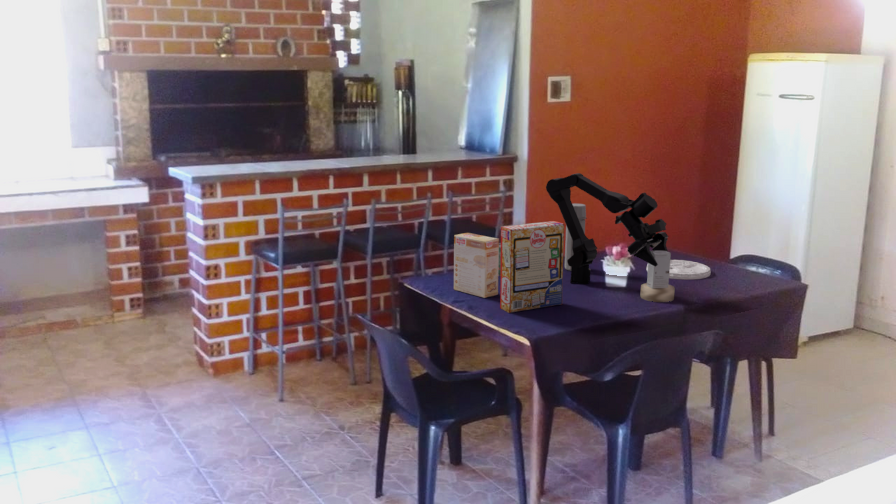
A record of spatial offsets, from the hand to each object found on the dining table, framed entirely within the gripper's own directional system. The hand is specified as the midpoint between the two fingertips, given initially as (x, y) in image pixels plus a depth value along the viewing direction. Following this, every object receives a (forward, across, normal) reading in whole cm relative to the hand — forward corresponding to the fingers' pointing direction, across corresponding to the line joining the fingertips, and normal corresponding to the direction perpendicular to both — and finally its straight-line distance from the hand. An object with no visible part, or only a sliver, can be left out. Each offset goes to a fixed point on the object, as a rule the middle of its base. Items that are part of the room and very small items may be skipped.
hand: (663, 263), depth 268 cm
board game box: (-10, -38, +27) cm, 48 cm away
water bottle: (-22, +15, +40) cm, 48 cm away
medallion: (-1, +39, +19) cm, 44 cm away
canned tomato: (-32, -9, +50) cm, 60 cm away
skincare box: (+5, 0, +7) cm, 9 cm away
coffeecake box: (-27, -36, +44) cm, 64 cm away
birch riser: (+8, 0, +10) cm, 12 cm away
